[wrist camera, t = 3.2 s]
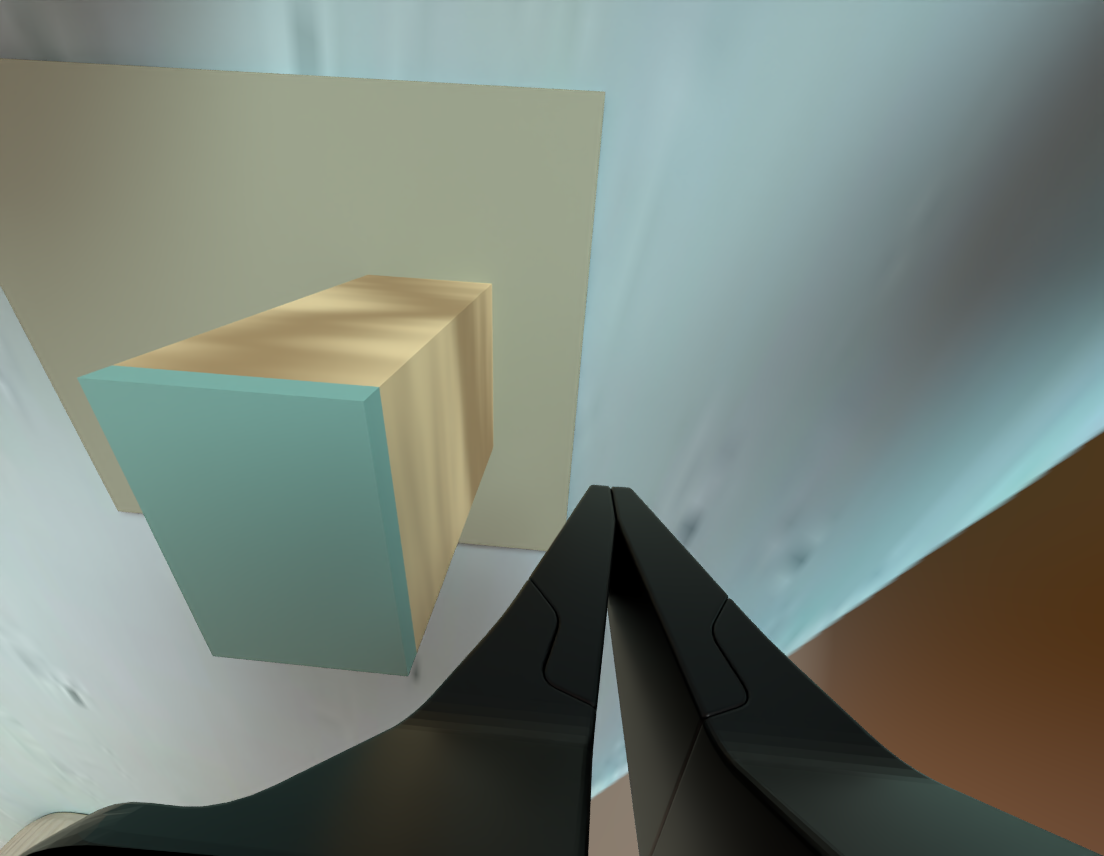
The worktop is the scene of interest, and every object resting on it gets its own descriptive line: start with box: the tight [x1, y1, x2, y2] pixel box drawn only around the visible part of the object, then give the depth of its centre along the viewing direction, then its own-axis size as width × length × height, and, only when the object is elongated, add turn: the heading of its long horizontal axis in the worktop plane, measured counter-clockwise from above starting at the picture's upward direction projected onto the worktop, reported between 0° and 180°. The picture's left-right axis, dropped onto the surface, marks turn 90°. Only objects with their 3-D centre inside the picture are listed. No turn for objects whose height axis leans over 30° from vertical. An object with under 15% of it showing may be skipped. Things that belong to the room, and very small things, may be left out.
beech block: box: [77, 275, 493, 676], centre depth 11 cm, size 4×6×9 cm, turn 177°
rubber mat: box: [0, 58, 605, 551], centre depth 16 cm, size 20×16×1 cm
